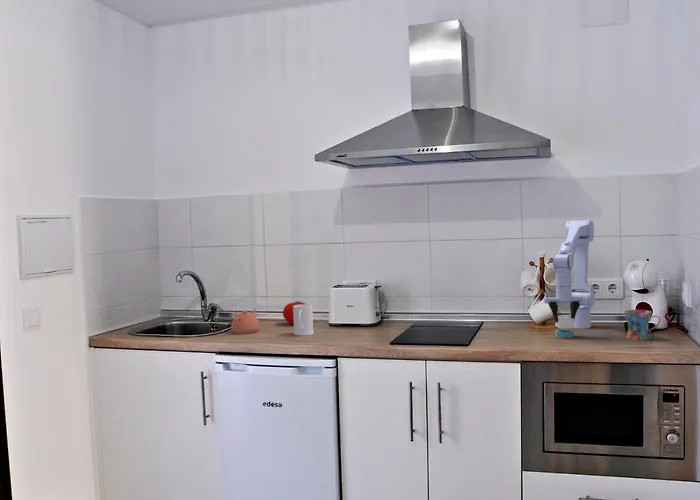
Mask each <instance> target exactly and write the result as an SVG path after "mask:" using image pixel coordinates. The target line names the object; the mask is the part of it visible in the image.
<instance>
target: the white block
mask: <svg viewBox="0 0 700 500" xmlns="http://www.w3.org/2000/svg"><path fill="white" fill-rule="evenodd" d="M554 322H555V321H554ZM554 325H555V327H557V328H558V329H575V328H574V319H573V318H571V317H570V316H558V323H556V322H555V324H554Z"/></svg>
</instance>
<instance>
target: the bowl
mask: <svg viewBox="0 0 700 500" xmlns="http://www.w3.org/2000/svg"><path fill="white" fill-rule="evenodd" d="M554 333H555V334H554V336H555V337H556V338H559V339H560V338H562V339H571V338H574V337H575V330H573V329H568V328H560V329H556V330H555V332H554Z"/></svg>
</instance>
